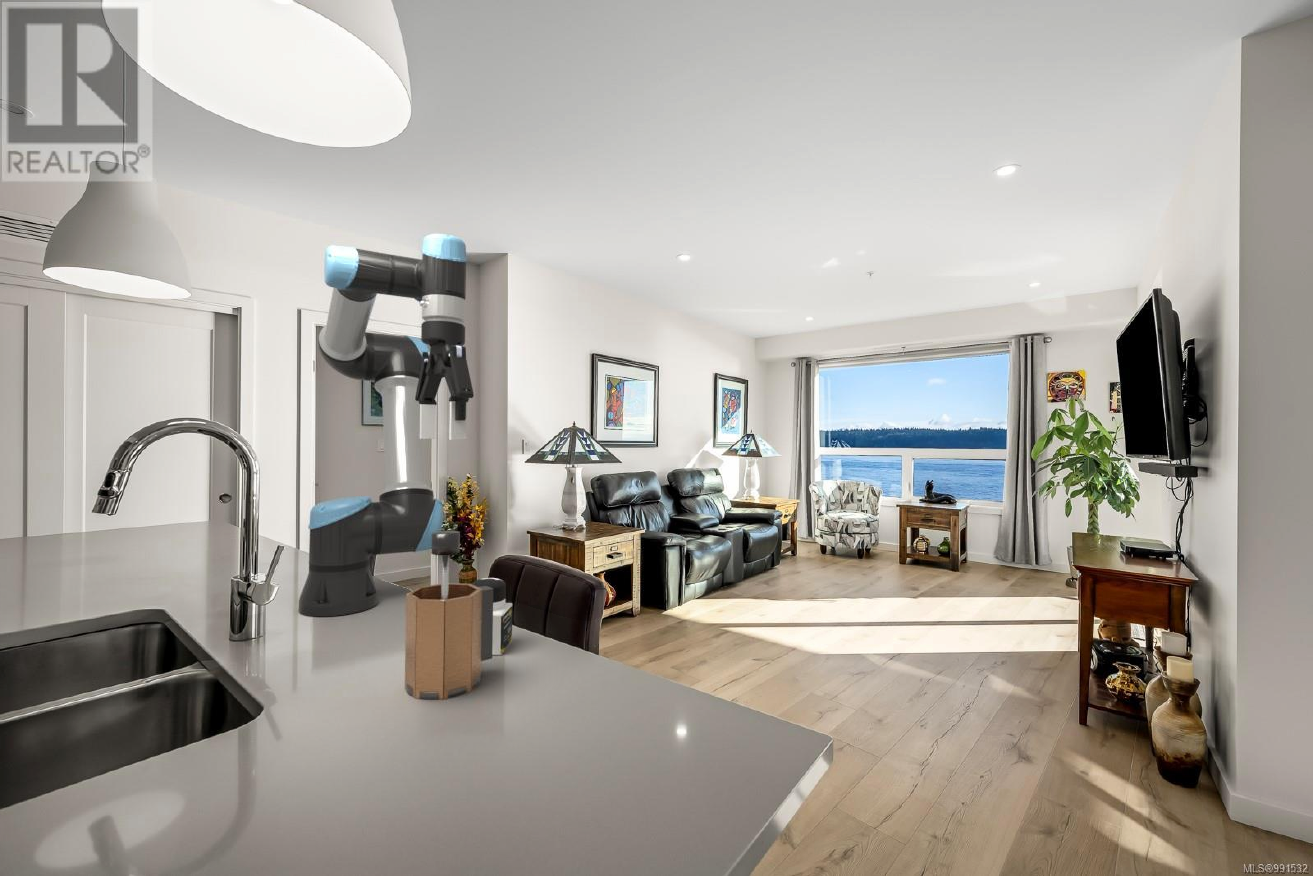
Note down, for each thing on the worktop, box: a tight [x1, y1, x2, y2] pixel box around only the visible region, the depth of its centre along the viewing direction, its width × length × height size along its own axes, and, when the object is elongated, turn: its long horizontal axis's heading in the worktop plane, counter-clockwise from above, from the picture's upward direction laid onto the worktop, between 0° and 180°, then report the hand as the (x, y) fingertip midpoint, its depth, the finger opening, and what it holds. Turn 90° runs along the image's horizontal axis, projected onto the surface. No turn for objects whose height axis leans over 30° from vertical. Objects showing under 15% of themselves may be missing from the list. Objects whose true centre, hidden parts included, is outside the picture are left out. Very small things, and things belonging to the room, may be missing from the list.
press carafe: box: [404, 582, 493, 701], centre depth 90 cm, size 10×12×14 cm
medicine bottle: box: [471, 577, 514, 656], centre depth 105 cm, size 7×7×12 cm
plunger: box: [430, 530, 461, 600], centre depth 89 cm, size 8×8×22 cm
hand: (441, 439), depth 108 cm, fingers open, 13 cm apart
